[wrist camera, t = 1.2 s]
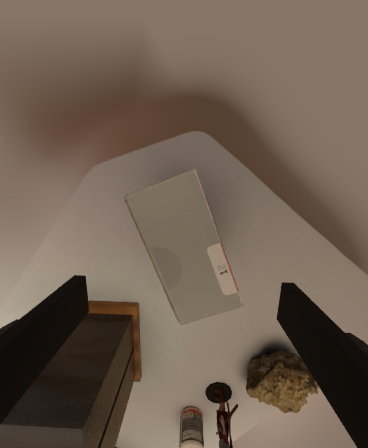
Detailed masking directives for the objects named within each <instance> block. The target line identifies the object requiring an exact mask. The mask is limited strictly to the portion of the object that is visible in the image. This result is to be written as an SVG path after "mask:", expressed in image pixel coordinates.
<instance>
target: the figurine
mask: <svg viewBox="0 0 368 448" xmlns="http://www.w3.org/2000/svg"><path fill="white" fill-rule="evenodd" d="M231 395H232V391H231V389H230V387H229V386H228V385H226V384H225V383H220V382H216V383H213V384H210V385H209V386H208V387H207V389H206V396H207V398H208V400H210V401H211V402H213V403H219V404H220V407H219V411H218V410H217V428H218V432H216V434H219V438H220V440H219V448H233V447H232V439H231V435H230V431H231V430H230V419H231V416H232V414H233V413H234V412H235V410H236V409H237V407H238V404H237V405H235V407H234V408H233V410H232V411H231V412H230V411H229V404H228V402H227V401H228V400H229V399H230V398H231ZM224 402H227V407H228V412H226V411H225V405H224V404H225V403H224ZM228 420H229V422H228ZM228 435H229V436H230V445H229V442H228Z"/></svg>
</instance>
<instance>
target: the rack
mask: <svg viewBox="0 0 368 448" xmlns="http://www.w3.org/2000/svg"><path fill="white" fill-rule="evenodd" d="M88 305H89V312H88V314H87V315H86V316H85V317H84V319H83V320H82V321H81V322H80V324H79V325H78V326H77V328H76V329H75V330H74V331H73V333H72V334H71V335H70V336H69V338H68V339H67V340H66V342H65V343H64V344H63V345H62V347H61V348H60V349H59V350H58V352H57V353H56V354H55V356H54V357H53V358H52V359H51V361H50V362H49V363H48V364H47V366H46V367H45V368H44V370H43V371H42V372H41V373H40V375H39V376H38V377H37V378H36V380H35V381H34V382H33V384H32V385H31V386H30V387H29V389H28V390H27V391H26V392H25V394H24V395H23V396H22V398H21V399H20V400H19V401H18V403H17V404H16V405H15V406H14V408H13V409H12V410H11V412H10V413H9V414H8V415H7V417H6V418H5V419H4V420H3V422H2V423H1V424H0V448H115V445H116V441H117V438H118V435H119V431H120V428H121V424H122V421H123V417H124V414H125V410H126V407H127V403H128V400H129V396H130V393H131V389H132V386H133V382H134V381H138V382H140V380H141V352H140V328H139V304H138V303H127V302H102V301H88Z"/></svg>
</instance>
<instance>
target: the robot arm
mask: <svg viewBox="0 0 368 448" xmlns="http://www.w3.org/2000/svg"><path fill="white" fill-rule="evenodd" d="M88 312H89V305H88V295H87V285H86V276H77V275H74V276H73V277H72V278H71V279H69V280H68V281H67V282H66V283H64V284H63V285H62V286H61V287H59V288H58V289H57V290H56V291H54V292H53V293H52V294H51V295H49V296H48V297H47V298H46V299H44V300H43V301H42V302H41V303H39V304H38V305H37V306H36V307H34V308H33V309H32V310H31V311H29V312H28V313H27V314H26V315H24V316H23V317H22V318H21V319H19V320H15V321H13V322H11V323H9V324H7V325H6V326H4V327H2V328H1V329H0V424H1V423H2V422H3V420H4V419H5V418H6V417H7V415H8V414H9V413H10V412H11V410H12V409H13V408H14V406H15V405H16V404H17V403H18V401H19V400H20V399H21V398H22V396H23V395H24V394H25V392H26V391H27V390H28V389H29V387H30V386H31V385H32V384H33V382H34V381H35V380H36V378H37V377H38V376H39V375H40V373H41V372H42V371H43V370H44V368H45V367H46V366H47V364H48V363H49V362H50V361H51V359H52V358H53V357H54V356H55V354H56V353H57V352H58V350H59V349H60V348H61V347H62V345H63V344H64V343H65V342H66V340H67V339H68V338H69V336H70V335H71V334H72V333H73V331H74V330H75V329H76V328H77V326H78V325H79V324H80V322H81V321H82V320H83V319H84V317H85V316H86V315H87V314H88ZM277 320H278V322H279V323H280V325H281V327H282V328H283V330H284V331H285V333H286V335H287V336H288V338H289V339H290V341H291V342H292V344H293V346H294V347H295V349H296V350H297V352H298V354H299V355H300V357H301V358H302V360H303V362H304V363H305V365H306V366H307V368H308V370H309V371H310V373H311V374H312V376H313V378H314V379H315V381H316V382H317V384H318V386H319V387H320V389H321V390H322V392H323V394H324V395H325V397H326V398H327V400H328V402H329V403H330V405H331V406H332V408H333V410H334V411H335V413H336V414H337V416H338V418H339V419H340V421H341V422H342V424H343V425H344V427H345V429H346V430H347V432H348V433H349V435H350V437H351V438H352V440H353V441H354V443H355V445H356V446H357V448H368V345H367V344H366V343H365V342H364V341H362V340H360V339H359V338H357V337H356V336H354V335H353V334H351V333H344V332H343V331H342V330H341V329H340V328H339V327H338V326H337V325H336V324H335V323H334V322H333V321H332V320H331V319H330V318H329V317H328V316H327V315H326V314H325V313H324V312H323V311H322V310H321V309H320V308H319V307H318V306H317V305H316V304H315V303H314V302H313V301H312V300H311V299H310V298H309V297H308V296H307V295H306V294H305V293H304V292H303V291H302V290H301V289H299V288H298V287H297V286H296V285H295V284H294V283H282V286H281V293H280V300H279V307H278V314H277Z"/></svg>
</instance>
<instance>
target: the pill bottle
mask: <svg viewBox="0 0 368 448" xmlns="http://www.w3.org/2000/svg"><path fill="white" fill-rule="evenodd" d="M179 448H204V441H203V420H202V414H201V412H200V411H199V410H198V409H197V408H194V407H188V408H186V409H184V410H183V411H182V413H181V421H180V445H179Z"/></svg>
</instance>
